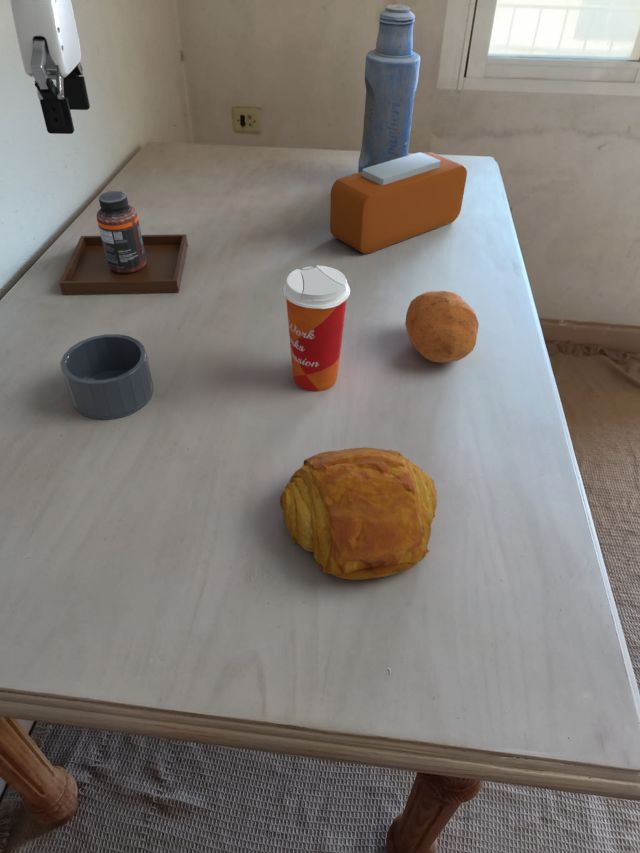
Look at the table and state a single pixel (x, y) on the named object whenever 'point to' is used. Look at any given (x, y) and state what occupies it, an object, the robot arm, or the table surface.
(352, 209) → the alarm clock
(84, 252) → the walnut tray
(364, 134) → the bottle
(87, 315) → the table surface
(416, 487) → the croissant
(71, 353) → the grey cup
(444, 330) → the potato
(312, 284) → the paper cup
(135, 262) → the supplement bottle
